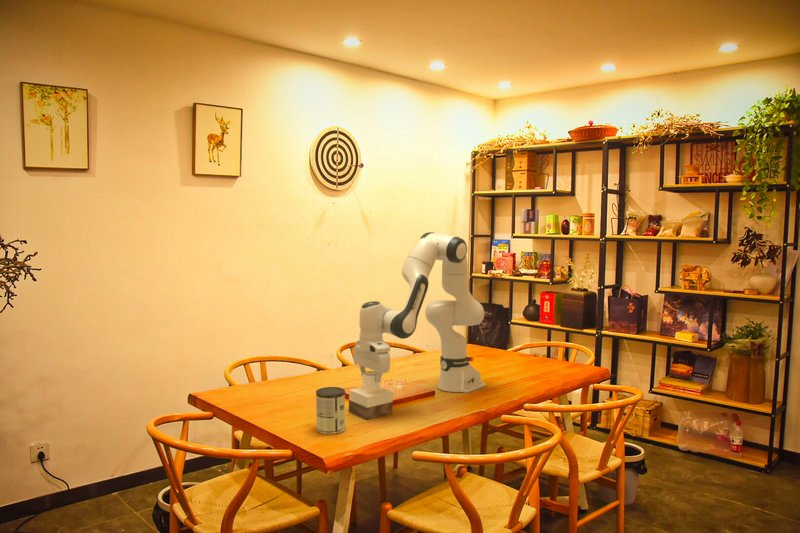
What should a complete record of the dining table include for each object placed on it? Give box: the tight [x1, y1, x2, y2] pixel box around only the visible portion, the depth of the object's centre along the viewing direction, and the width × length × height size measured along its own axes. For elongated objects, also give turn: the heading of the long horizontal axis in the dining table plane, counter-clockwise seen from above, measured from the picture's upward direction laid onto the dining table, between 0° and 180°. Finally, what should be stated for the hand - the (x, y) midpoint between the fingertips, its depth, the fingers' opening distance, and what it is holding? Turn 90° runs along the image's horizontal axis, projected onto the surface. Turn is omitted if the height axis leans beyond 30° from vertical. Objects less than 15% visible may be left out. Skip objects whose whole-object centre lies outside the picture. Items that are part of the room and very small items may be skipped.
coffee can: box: [315, 386, 346, 435], centre depth 220 cm, size 10×10×14 cm
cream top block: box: [348, 386, 394, 408], centre depth 239 cm, size 12×12×4 cm
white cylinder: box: [361, 370, 380, 393], centre depth 238 cm, size 7×7×7 cm
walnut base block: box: [348, 400, 393, 421], centre depth 239 cm, size 12×12×5 cm
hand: (370, 379), depth 239 cm, fingers open, 8 cm apart
